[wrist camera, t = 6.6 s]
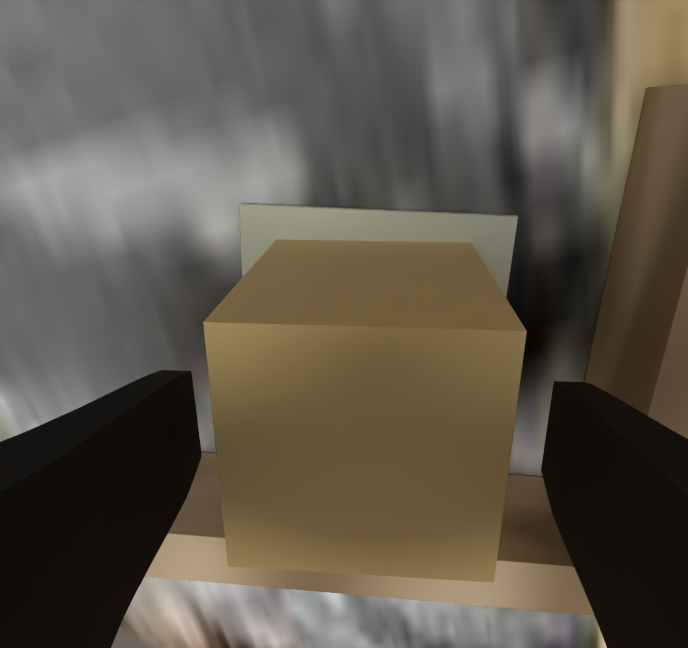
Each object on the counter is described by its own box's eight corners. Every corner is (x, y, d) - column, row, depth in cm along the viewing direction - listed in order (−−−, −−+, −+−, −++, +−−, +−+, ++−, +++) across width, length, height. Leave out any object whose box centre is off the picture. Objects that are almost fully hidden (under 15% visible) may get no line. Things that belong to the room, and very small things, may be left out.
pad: (516, 215, 14) (518, 216, 14) (482, 451, 16) (483, 455, 16) (241, 203, 14) (239, 204, 14) (249, 435, 17) (248, 438, 16)
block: (471, 242, 14) (526, 331, 8) (456, 414, 16) (493, 582, 10) (276, 239, 14) (203, 322, 9) (284, 407, 16) (227, 566, 10)
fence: (715, 90, 12) (831, 82, 9) (604, 522, 17) (656, 620, 14) (14, 69, 13) (-106, 55, 10) (85, 482, 18) (18, 565, 15)
